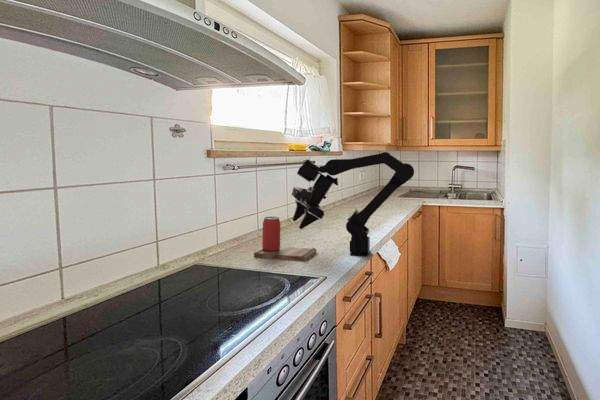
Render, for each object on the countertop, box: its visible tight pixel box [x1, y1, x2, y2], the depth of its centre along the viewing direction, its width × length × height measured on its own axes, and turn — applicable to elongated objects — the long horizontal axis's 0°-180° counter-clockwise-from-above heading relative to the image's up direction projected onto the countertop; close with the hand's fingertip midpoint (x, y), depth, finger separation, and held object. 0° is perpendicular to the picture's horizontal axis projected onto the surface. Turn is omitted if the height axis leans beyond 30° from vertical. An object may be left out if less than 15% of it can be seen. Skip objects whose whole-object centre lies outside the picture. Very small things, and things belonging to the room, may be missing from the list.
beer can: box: [261, 216, 281, 251], centre depth 156 cm, size 7×7×12 cm
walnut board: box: [253, 246, 318, 262], centre depth 155 cm, size 20×12×2 cm, turn 69°
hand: (296, 224), depth 156 cm, fingers open, 9 cm apart
